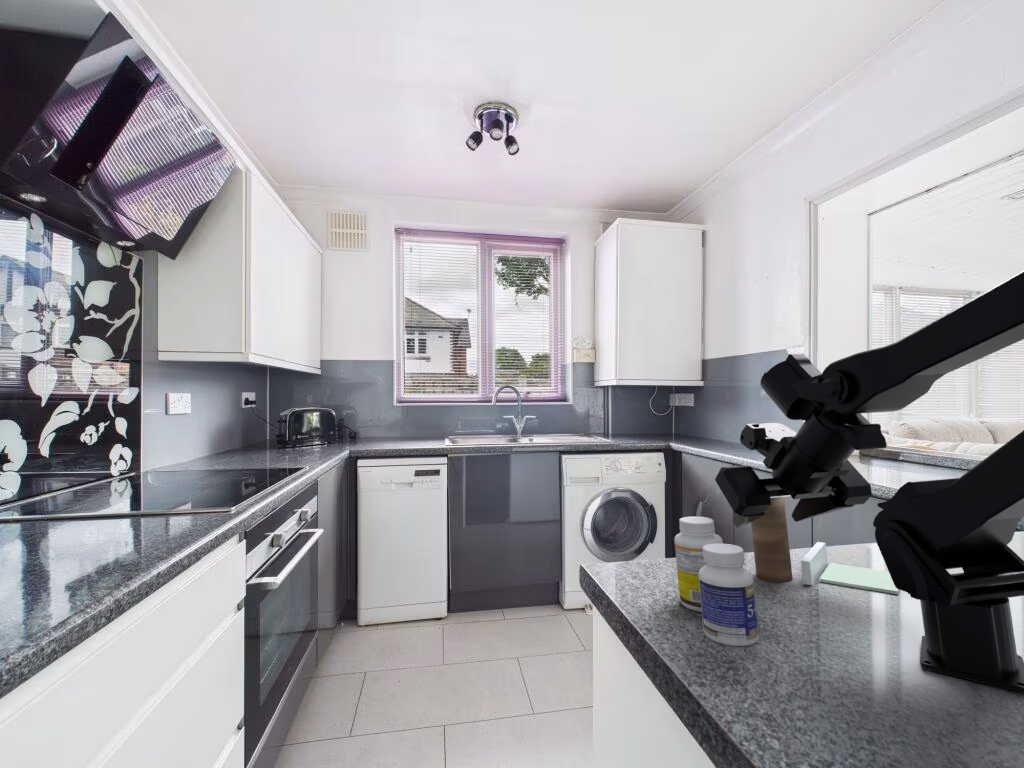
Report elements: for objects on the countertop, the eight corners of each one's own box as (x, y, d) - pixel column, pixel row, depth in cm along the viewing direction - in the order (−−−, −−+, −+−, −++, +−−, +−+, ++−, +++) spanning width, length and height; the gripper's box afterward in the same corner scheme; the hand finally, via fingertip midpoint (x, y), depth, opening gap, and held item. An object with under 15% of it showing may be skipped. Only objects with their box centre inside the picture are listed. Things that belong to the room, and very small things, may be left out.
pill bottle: (763, 650, 44) (754, 556, 45) (705, 644, 46) (697, 554, 47) (754, 626, 49) (745, 542, 50) (701, 622, 51) (694, 540, 52)
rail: (812, 585, 60) (809, 561, 60) (803, 583, 60) (800, 560, 60) (827, 563, 67) (825, 542, 68) (819, 562, 68) (817, 541, 68)
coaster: (898, 594, 55) (897, 591, 55) (819, 581, 61) (819, 578, 61) (902, 576, 61) (901, 573, 61) (830, 565, 66) (830, 563, 66)
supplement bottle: (708, 594, 59) (701, 513, 60) (740, 610, 53) (731, 521, 54) (670, 600, 57) (663, 517, 58) (698, 618, 52) (690, 526, 53)
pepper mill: (788, 584, 60) (777, 483, 61) (752, 578, 63) (742, 482, 64) (796, 575, 64) (785, 479, 65) (761, 569, 67) (752, 478, 68)
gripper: (842, 399, 62) (789, 472, 72) (716, 405, 59) (680, 481, 69) (907, 461, 54) (837, 534, 64) (764, 473, 51) (715, 547, 61)
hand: (765, 521), depth 65 cm, fingers open, 9 cm apart
